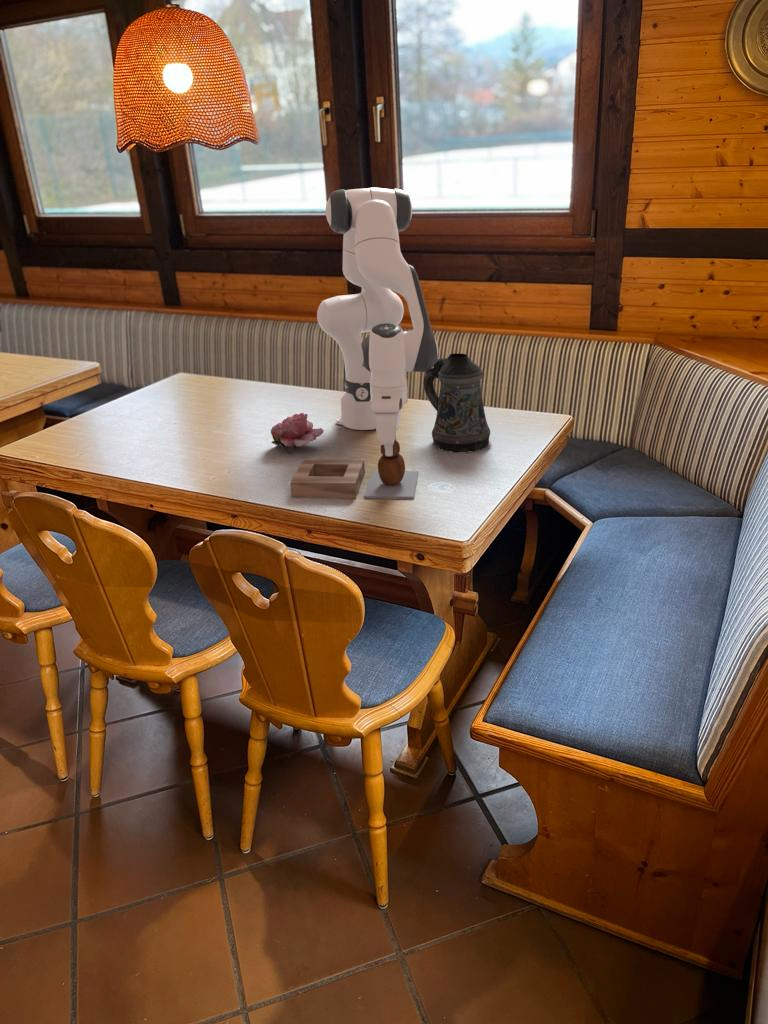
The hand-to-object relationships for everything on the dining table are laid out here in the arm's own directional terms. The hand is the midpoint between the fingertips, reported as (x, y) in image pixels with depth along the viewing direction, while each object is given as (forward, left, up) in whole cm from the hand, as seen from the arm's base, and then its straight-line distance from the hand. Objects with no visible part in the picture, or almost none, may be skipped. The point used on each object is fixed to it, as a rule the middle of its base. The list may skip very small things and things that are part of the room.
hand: (391, 449), depth 185 cm
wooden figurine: (0, 0, -9) cm, 9 cm away
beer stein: (-31, +15, -10) cm, 36 cm away
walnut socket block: (0, -16, -10) cm, 19 cm away
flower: (-26, -30, -10) cm, 41 cm away
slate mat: (0, 0, -10) cm, 10 cm away
